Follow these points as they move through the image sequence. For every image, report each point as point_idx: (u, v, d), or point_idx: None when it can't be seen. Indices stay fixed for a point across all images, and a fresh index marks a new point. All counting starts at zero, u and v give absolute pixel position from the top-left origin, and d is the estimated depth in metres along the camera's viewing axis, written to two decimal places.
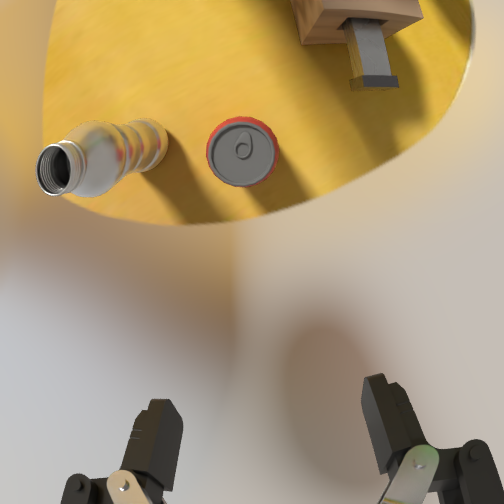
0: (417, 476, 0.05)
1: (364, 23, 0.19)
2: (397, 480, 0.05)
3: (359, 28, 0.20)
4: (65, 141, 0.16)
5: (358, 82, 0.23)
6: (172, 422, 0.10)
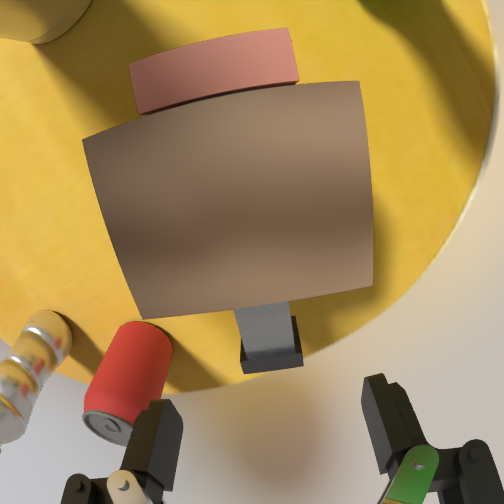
0: (417, 476, 0.05)
1: None
2: (397, 480, 0.05)
3: None
4: None
5: None
6: (172, 422, 0.10)
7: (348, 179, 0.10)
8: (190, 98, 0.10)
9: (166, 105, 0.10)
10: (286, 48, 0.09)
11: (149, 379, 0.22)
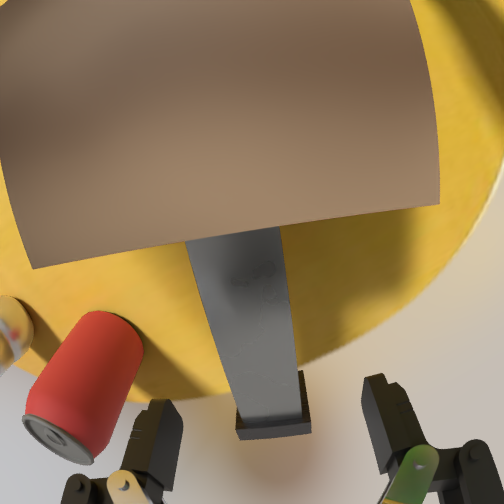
0: (417, 476, 0.05)
1: (249, 341, 0.11)
2: (397, 480, 0.05)
3: (233, 353, 0.11)
4: None
5: None
6: (172, 422, 0.10)
7: None
8: None
9: None
10: None
11: (104, 382, 0.16)
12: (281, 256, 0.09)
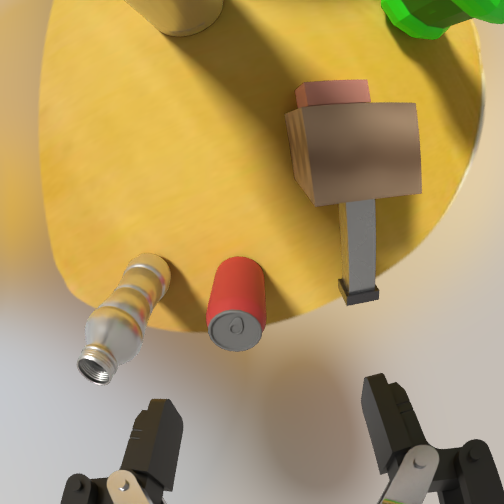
0: (417, 476, 0.05)
1: (360, 243, 0.28)
2: (397, 480, 0.05)
3: (353, 250, 0.28)
4: (96, 349, 0.22)
5: (343, 294, 0.31)
6: (172, 422, 0.10)
7: (411, 142, 0.20)
8: (330, 103, 0.25)
9: (320, 104, 0.25)
10: (366, 88, 0.24)
11: (261, 291, 0.33)
12: (374, 210, 0.26)
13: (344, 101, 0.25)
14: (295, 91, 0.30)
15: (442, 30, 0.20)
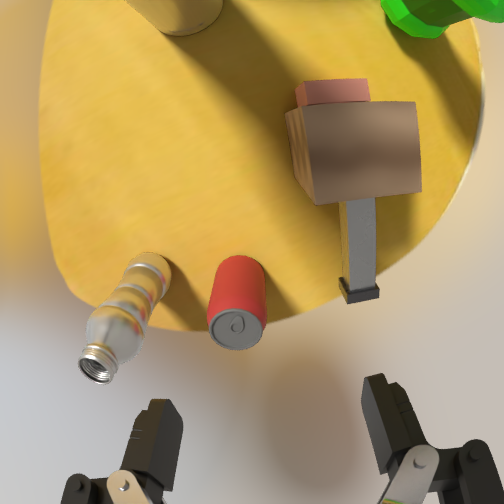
0: (417, 476, 0.05)
1: (360, 242, 0.28)
2: (397, 480, 0.05)
3: (354, 248, 0.28)
4: (97, 348, 0.22)
5: (344, 293, 0.31)
6: (172, 422, 0.10)
7: (411, 141, 0.20)
8: (330, 102, 0.25)
9: (320, 103, 0.25)
10: (366, 87, 0.24)
11: (261, 290, 0.33)
12: (374, 208, 0.26)
13: (344, 100, 0.25)
14: (295, 90, 0.30)
15: (442, 29, 0.20)
